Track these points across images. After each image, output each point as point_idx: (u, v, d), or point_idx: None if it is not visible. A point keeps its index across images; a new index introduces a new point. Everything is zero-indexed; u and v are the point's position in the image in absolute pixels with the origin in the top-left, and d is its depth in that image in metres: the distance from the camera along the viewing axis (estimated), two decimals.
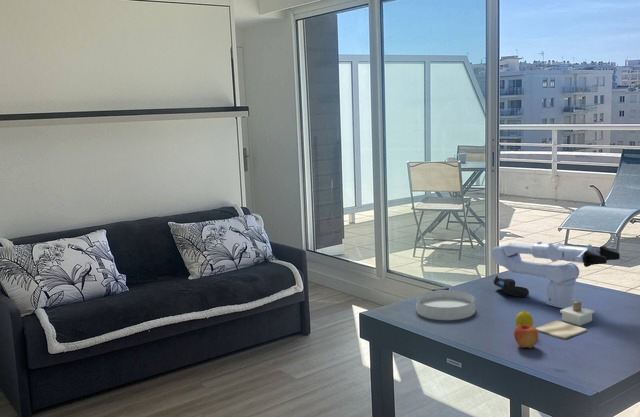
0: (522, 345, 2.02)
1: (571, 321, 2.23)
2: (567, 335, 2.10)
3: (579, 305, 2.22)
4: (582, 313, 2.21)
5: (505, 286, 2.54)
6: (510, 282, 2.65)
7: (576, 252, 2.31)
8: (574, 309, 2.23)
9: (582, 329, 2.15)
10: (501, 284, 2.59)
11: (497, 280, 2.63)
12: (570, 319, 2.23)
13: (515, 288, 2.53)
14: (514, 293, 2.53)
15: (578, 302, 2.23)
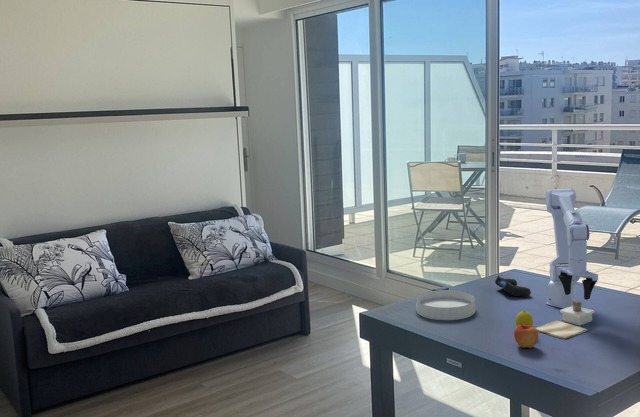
0: (522, 345, 2.02)
1: (571, 321, 2.23)
2: (567, 335, 2.10)
3: (579, 305, 2.22)
4: (582, 313, 2.21)
5: (507, 286, 2.54)
6: (512, 282, 2.65)
7: None
8: (574, 309, 2.23)
9: (582, 329, 2.15)
10: (503, 284, 2.59)
11: (499, 280, 2.63)
12: (570, 319, 2.23)
13: (517, 288, 2.54)
14: (516, 293, 2.53)
15: (578, 302, 2.23)
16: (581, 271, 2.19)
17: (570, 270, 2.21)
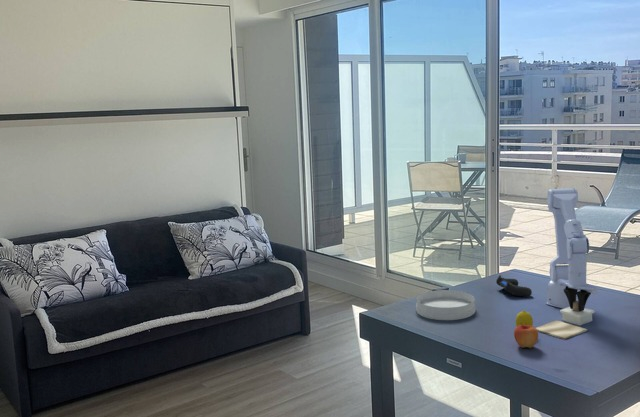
0: (522, 345, 2.02)
1: (571, 321, 2.23)
2: (567, 335, 2.10)
3: None
4: (582, 313, 2.21)
5: (508, 286, 2.54)
6: (513, 282, 2.65)
7: None
8: (574, 309, 2.23)
9: (582, 329, 2.15)
10: (504, 284, 2.59)
11: (500, 280, 2.63)
12: (570, 319, 2.23)
13: (518, 288, 2.54)
14: (517, 293, 2.53)
15: None
16: (581, 284, 2.20)
17: (570, 283, 2.22)
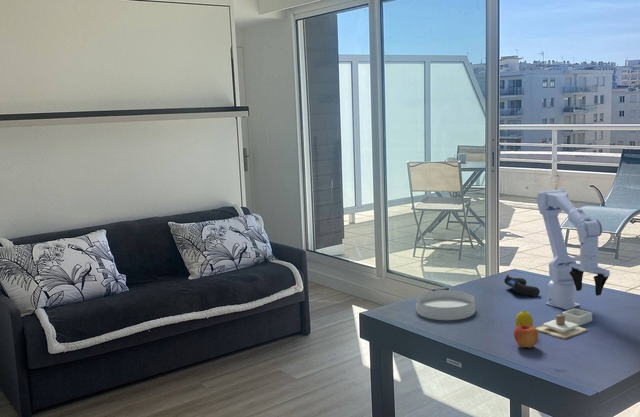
0: (522, 345, 2.02)
1: (571, 321, 2.23)
2: (567, 335, 2.10)
3: (562, 319, 2.15)
4: (565, 327, 2.13)
5: (516, 285, 2.55)
6: (521, 281, 2.65)
7: (580, 257, 2.24)
8: (557, 323, 2.16)
9: (582, 329, 2.15)
10: (512, 283, 2.59)
11: (508, 279, 2.63)
12: (570, 319, 2.23)
13: (526, 287, 2.54)
14: (525, 292, 2.54)
15: (561, 316, 2.15)
16: (592, 267, 2.21)
17: (581, 266, 2.23)
